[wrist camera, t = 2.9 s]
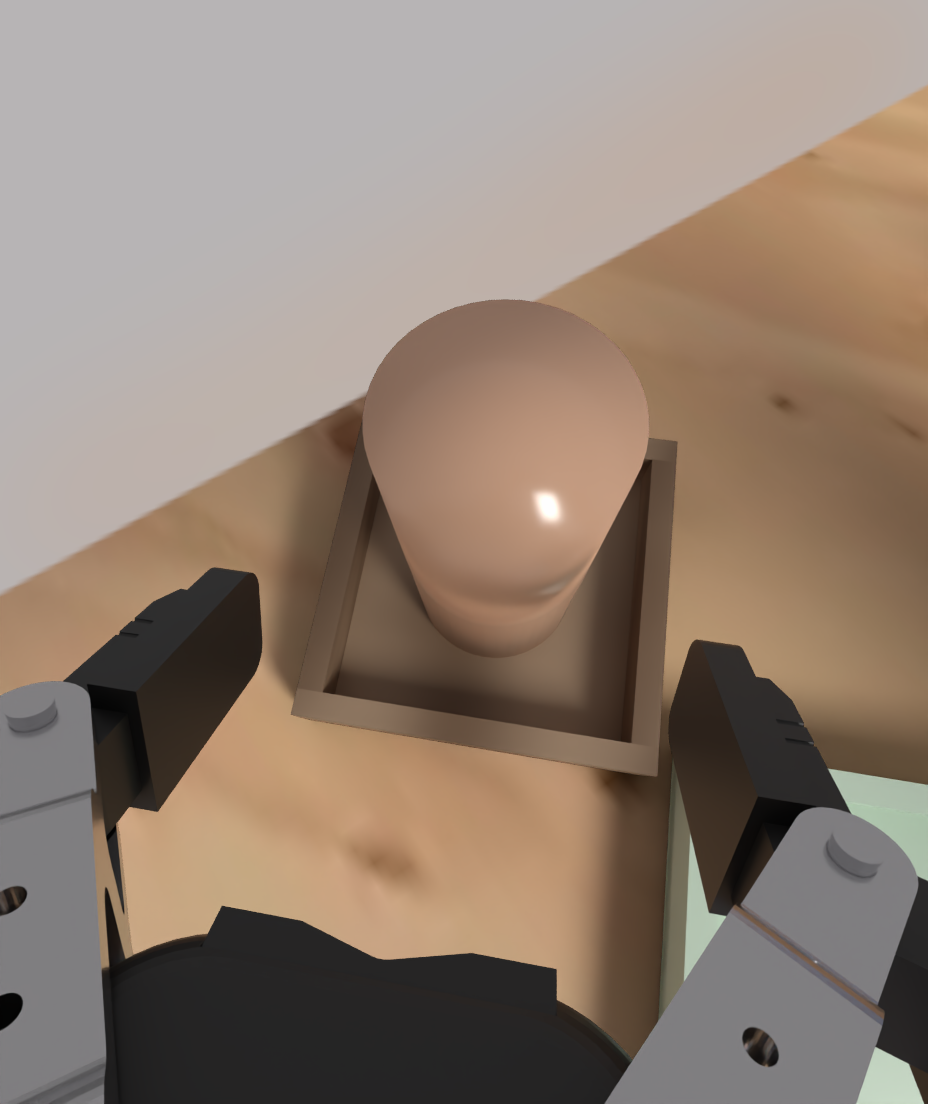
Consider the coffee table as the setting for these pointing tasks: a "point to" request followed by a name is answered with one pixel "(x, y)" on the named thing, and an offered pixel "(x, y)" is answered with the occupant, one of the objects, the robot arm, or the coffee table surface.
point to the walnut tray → (499, 683)
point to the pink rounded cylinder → (503, 463)
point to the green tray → (891, 805)
